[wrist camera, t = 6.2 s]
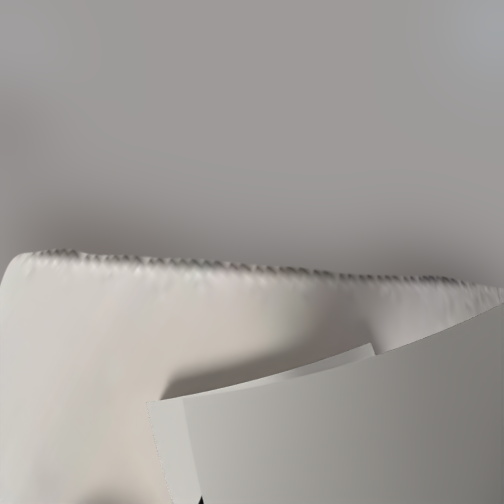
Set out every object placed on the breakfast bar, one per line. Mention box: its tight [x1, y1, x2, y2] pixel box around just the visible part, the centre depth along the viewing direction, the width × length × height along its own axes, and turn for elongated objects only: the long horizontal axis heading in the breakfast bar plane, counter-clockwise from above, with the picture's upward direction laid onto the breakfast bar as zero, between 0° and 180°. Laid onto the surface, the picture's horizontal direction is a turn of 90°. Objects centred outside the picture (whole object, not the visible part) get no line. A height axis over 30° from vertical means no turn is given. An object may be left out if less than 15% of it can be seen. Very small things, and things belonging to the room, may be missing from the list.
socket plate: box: [146, 342, 375, 504], centre depth 16 cm, size 18×16×3 cm
